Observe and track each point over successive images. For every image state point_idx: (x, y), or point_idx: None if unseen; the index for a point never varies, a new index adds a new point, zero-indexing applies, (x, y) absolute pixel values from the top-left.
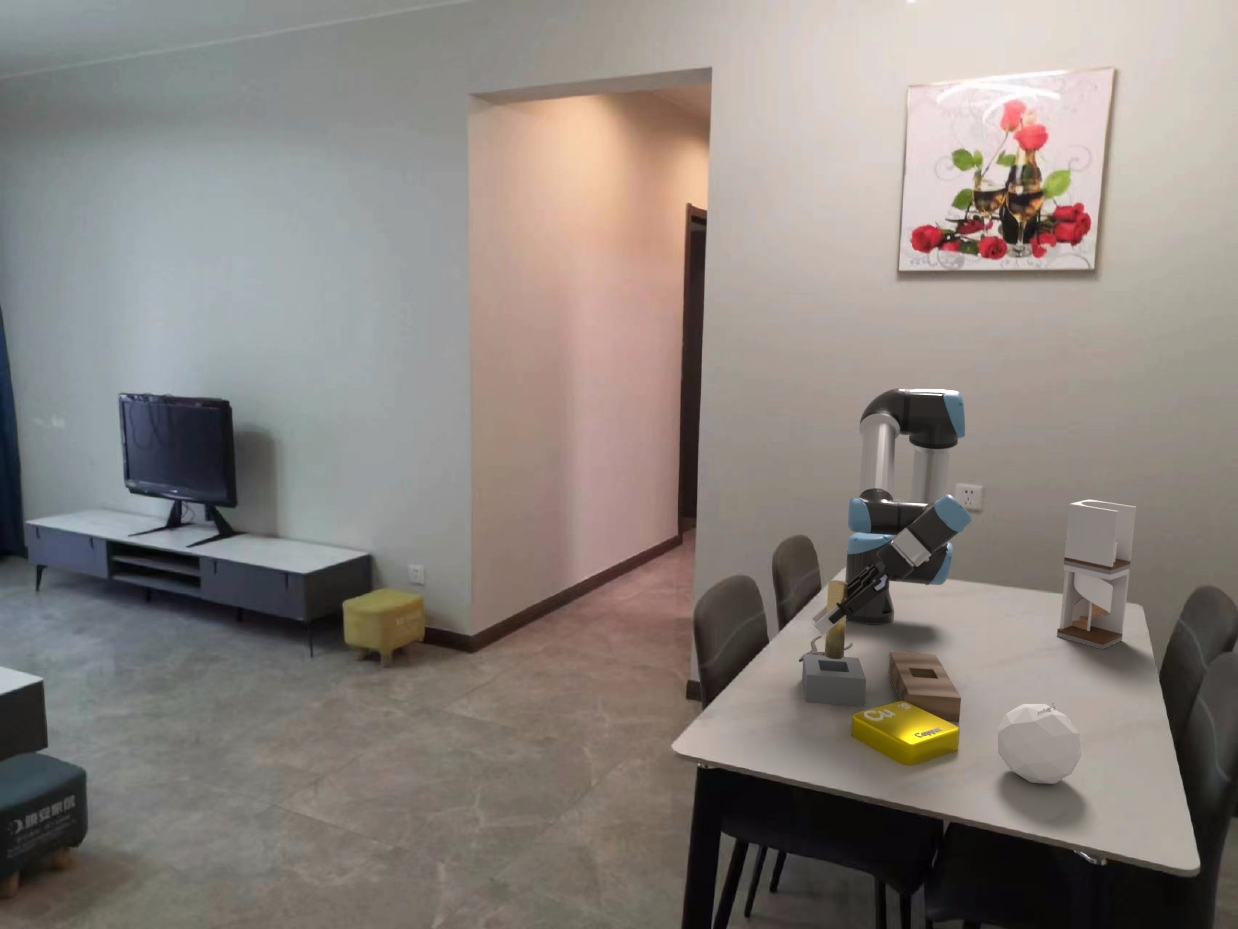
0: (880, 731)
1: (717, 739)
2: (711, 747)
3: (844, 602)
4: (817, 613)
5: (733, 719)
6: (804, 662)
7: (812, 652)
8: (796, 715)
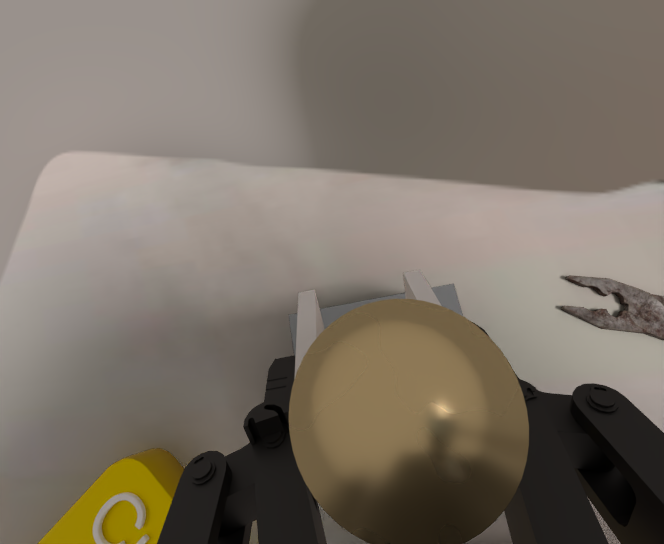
0: (41, 541)
1: (89, 195)
2: (59, 193)
3: (265, 473)
4: (424, 288)
5: (176, 202)
6: (393, 295)
7: (650, 302)
8: (225, 315)
